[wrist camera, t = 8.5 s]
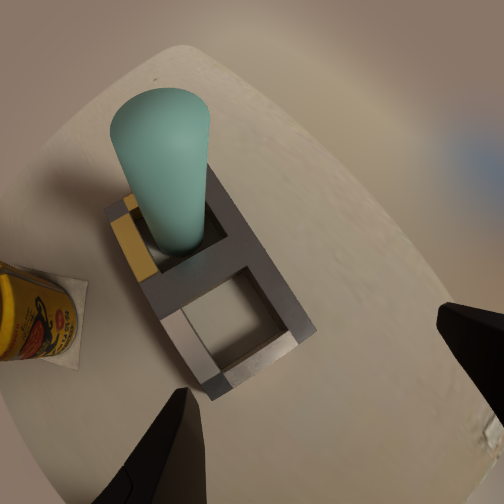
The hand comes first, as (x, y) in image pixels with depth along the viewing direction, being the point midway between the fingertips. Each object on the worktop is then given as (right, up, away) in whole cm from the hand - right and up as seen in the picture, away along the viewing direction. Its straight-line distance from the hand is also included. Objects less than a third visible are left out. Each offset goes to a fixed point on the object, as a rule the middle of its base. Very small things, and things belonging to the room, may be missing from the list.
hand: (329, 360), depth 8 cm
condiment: (-20, -2, +10) cm, 22 cm away
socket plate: (-6, +2, +13) cm, 15 cm away
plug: (-8, +5, +14) cm, 17 cm away
